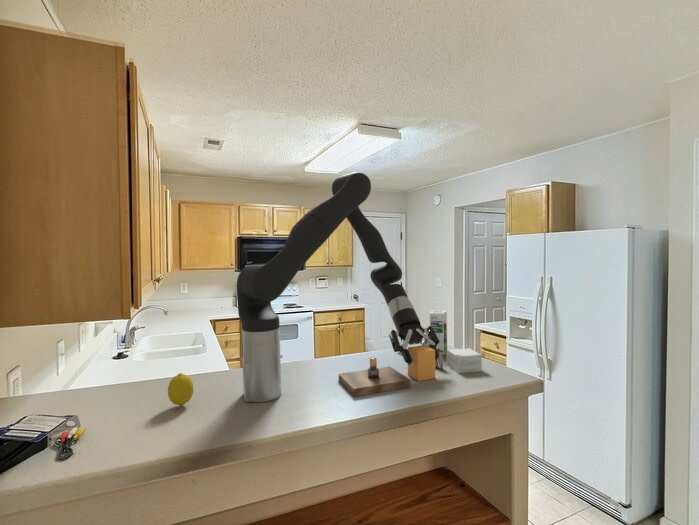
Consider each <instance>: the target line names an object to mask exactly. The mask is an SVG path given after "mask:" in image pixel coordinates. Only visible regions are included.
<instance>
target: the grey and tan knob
mask: <svg viewBox="0 0 699 525" xmlns="http://www.w3.org/2000/svg"><path fill="white" fill-rule="evenodd" d="M377 362H378V361H377V357H370V358H369V367H368V368H367V370H368V378H371V379H376V378H379V369H378V368H379V367H378V366H377V364H378V363H377Z"/></svg>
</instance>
